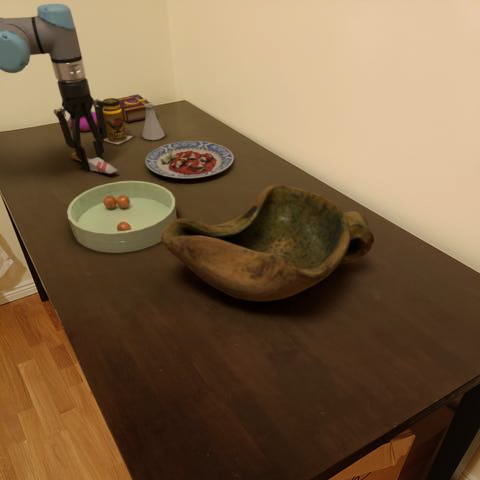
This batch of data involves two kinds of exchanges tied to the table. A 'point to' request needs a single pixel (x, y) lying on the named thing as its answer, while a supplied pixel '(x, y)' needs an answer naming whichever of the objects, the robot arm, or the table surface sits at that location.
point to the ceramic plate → (189, 159)
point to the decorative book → (133, 108)
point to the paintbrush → (97, 165)
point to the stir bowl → (122, 216)
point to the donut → (85, 123)
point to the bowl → (271, 244)
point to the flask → (152, 124)
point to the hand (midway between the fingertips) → (94, 166)
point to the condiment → (114, 121)
